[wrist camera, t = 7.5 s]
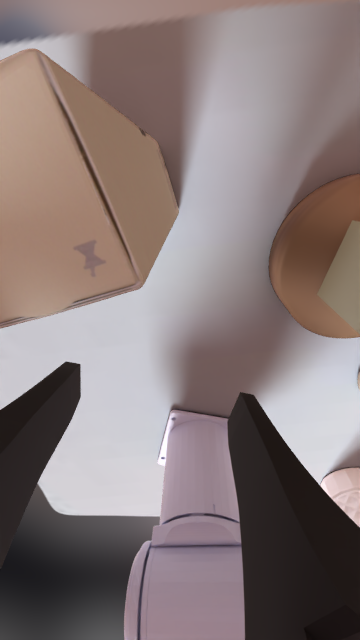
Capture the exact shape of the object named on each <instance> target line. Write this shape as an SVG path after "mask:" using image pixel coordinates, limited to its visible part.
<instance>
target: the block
mask: <svg viewBox="0 0 360 640" xmlns="http://www.w3.org/2000/svg"><path fill="white" fill-rule="evenodd" d="M317 295H318V296H319V297H320V298H321V299H322V300H323V301H324V302H325V303H327V304H328V305H329V306H330V307H331V308H332V309H333V310H334V311H335V312H336V313H337V314H338V315H339V316H340V317H342V318H343V319H344V320H345V321H346V322H347V323H348V324H349V325H350V326H351V327H352V328H353V329H354V330H356V331H357V332H358V333H359V334H360V222H359V221H354V220H352V222H351V224H350V226H349V228H348V230H347V232H346V235H345V237H344V239H343V241H342V243H341V245H340V247H339V249H338V251H337V253H336V256H335V258H334V260H333V262H332V264H331V266H330V268H329V270H328V272H327V274H326V276H325V279H324V281H323V283H322V285H321V287H320V289H319V291H318V293H317Z"/></svg>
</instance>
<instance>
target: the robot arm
mask: <svg viewBox="0 0 360 640" xmlns="http://www.w3.org/2000/svg"><path fill="white" fill-rule="evenodd" d="M80 397H81V393H80V364H76V363H71V362H65V363H63V364H62V365H61V366H60V367H58V368H57V369H56V370H55V371H53V372H52V373H51V374H50V375H48V376H47V377H46V378H44V379H43V380H42V381H40V382H39V383H38V384H37V385H35V386H34V387H32V388H31V389H30V390H28V391H27V392H26V393H24V394H23V395H22V396H20V397H19V398H17V399H16V400H14V401H13V402H11V403H10V404H8V405H7V406H6V407H4V408H3V409H1V410H0V569H1V567H2V565H3V562H4V559H5V557H6V555H7V552H8V550H9V547H10V545H11V542H12V540H13V537H14V535H15V533H16V531H17V528H18V526H19V524H20V521H21V519H22V516H23V514H24V512H25V509H26V507H27V505H28V502H29V500H30V498H31V496H32V494H33V491H34V489H35V487H36V485H37V482H38V480H39V478H40V476H41V474H42V472H43V470H44V469H45V467H46V465H47V463H48V461H49V460H50V458H51V456H52V454H53V452H54V451H55V449H56V447H57V445H58V443H59V441H60V440H61V438H62V436H63V434H64V432H65V430H66V429H67V427H68V425H69V423H70V421H71V419H72V417H73V415H74V412H75V410H76V407H77V405H78V402H79V400H80ZM173 417H175V418H173ZM158 464H160V465H164V466H165V473H164V483H163V494H162V505H161V515H160V525H158V526H154V527H153V534H152V541H146V542H145V543H144V544H143V545H142V547H141V549H140V550H139V552H138V553H137V555H136V557H135V559H134V562H133V565H132V568H131V572H130V577H129V582H128V588H127V596H126V604H125V618H124V638H125V639H124V640H360V527H359V526H358V525H357V524H356V523H355V522H354V521H353V520H352V519H351V518H350V517H349V516H348V515H347V514H346V513H345V512H344V511H343V510H342V509H341V508H340V507H339V506H338V505H337V504H336V503H335V502H334V501H333V500H332V499H331V497H330V496H329V495H328V494H327V493H326V492H325V491H324V490H323V489H322V487H321V486H320V485H319V484H318V483H317V482H316V480H315V479H314V478H313V477H312V476H311V475H310V474H309V472H308V471H307V470H306V469H305V467H304V466H303V465H302V464H301V462H300V461H299V460H298V458H297V457H296V456H295V455H294V453H293V452H292V451H291V449H290V448H289V447H288V445H287V444H286V443H285V441H284V440H283V438H282V437H281V435H280V434H279V433H278V431H277V430H276V428H275V427H274V425H273V424H272V422H271V421H270V419H269V418H268V416H267V415H266V413H265V412H264V410H263V409H262V407H261V406H260V404H259V403H258V401H257V399H256V398H255V396H254V395H252V394H246V393H241V392H240V394H239V397H238V399H237V401H236V403H235V406H234V408H233V410H232V412H231V415H230V417H229V419H227V418H221V417H215V416H209V415H203V414H197V413H191V412H185V411H180V410H172V411H171V412H170V415H169V419H168V423H167V426H166V430H165V434H164V438H163V442H162V446H161V450H160V453H159V457H158Z"/></svg>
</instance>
